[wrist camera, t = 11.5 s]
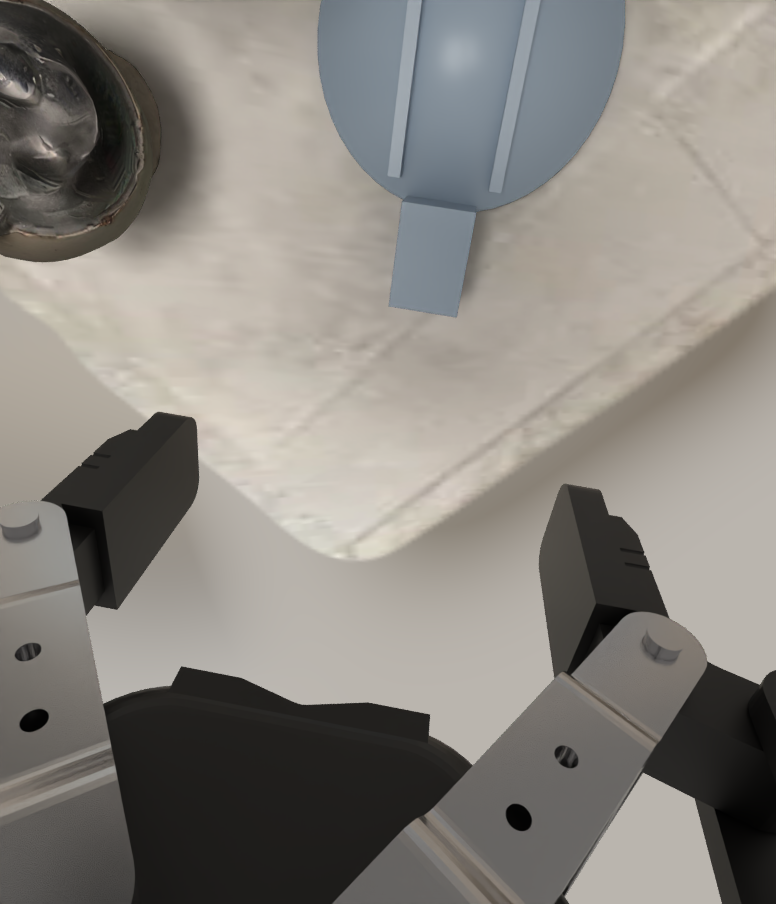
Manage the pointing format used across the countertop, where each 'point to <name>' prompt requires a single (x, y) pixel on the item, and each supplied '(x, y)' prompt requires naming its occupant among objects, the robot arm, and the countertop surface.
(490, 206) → the lid
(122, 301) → the countertop surface
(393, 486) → the countertop surface
